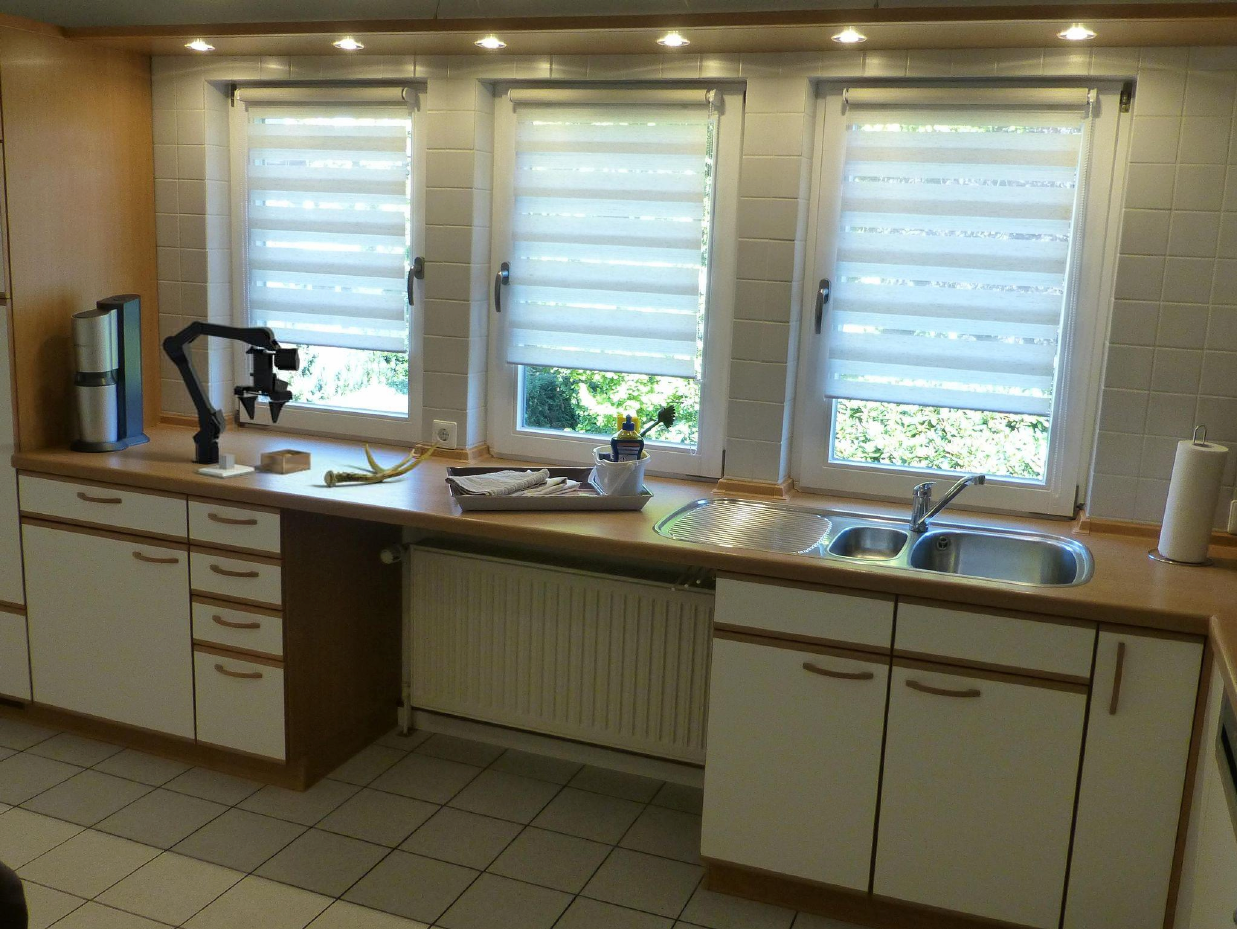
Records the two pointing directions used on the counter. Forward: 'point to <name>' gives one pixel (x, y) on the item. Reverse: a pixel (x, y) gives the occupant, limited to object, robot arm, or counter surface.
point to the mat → (228, 475)
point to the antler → (376, 470)
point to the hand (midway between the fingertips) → (263, 421)
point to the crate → (285, 461)
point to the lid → (226, 467)
